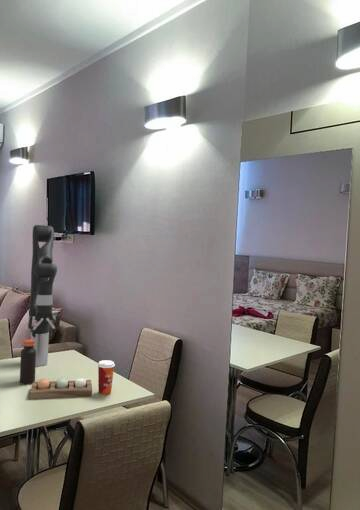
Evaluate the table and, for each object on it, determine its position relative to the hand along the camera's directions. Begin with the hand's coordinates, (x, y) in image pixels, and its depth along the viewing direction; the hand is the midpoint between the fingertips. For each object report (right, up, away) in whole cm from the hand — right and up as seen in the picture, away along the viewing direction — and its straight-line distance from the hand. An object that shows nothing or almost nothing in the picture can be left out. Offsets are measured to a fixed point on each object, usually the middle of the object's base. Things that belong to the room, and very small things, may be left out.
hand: (43, 336), depth 200 cm
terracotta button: (+7, -20, -19) cm, 28 cm away
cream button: (+22, -20, -15) cm, 34 cm away
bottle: (-5, -20, -8) cm, 22 cm away
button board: (+14, -22, -17) cm, 31 cm away
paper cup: (+33, -23, -14) cm, 43 cm away
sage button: (+14, -20, -17) cm, 30 cm away
